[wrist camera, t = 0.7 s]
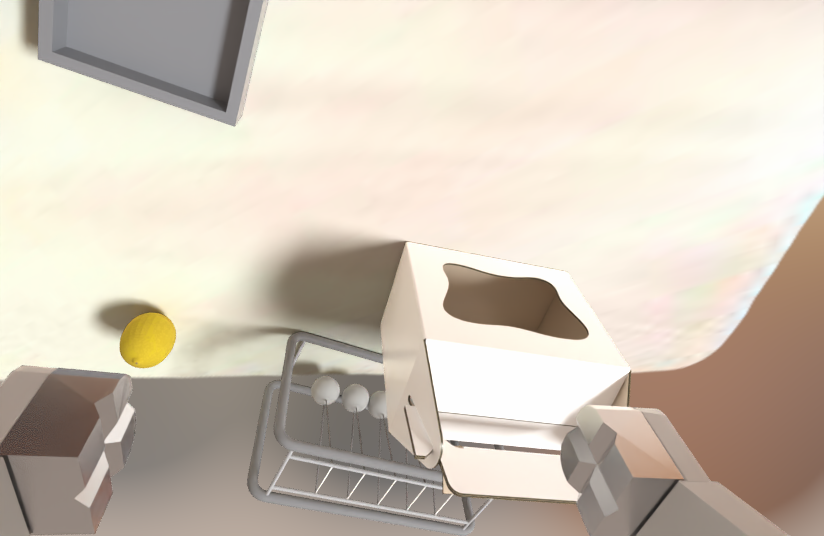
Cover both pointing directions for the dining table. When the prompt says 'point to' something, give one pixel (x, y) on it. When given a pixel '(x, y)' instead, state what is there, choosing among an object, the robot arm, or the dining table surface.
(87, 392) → the robot arm
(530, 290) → the gable box
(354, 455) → the newton's cradle
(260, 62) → the dining table surface
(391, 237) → the dining table surface
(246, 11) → the grey tray
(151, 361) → the lemon
